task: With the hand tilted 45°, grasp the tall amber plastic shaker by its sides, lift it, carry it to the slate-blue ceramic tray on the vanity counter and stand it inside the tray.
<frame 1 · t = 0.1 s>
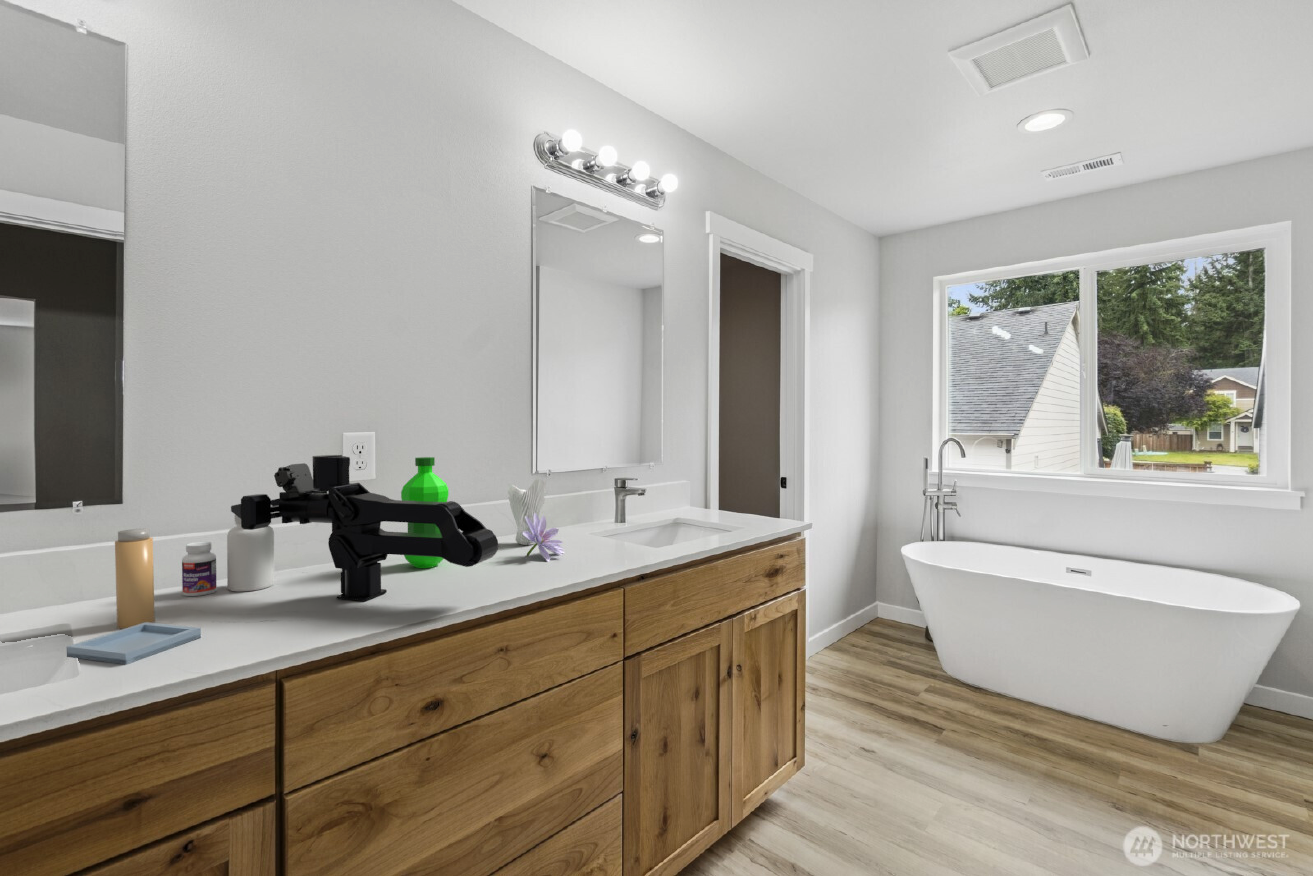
hand: (252, 505, 126), 17 cm above the worktop, tool horizontal, fingers open, 9 cm apart
pill bottle 2: (251, 588, 126), on the worktop
water lily: (544, 558, 154), on the worktop
shell sculpture: (527, 545, 169), on the worktop
pill bottle: (199, 594, 122), on the worktop
tray: (136, 646, 94), on the worktop
plastic bottle: (426, 566, 145), on the worktop
shaker: (136, 623, 104), on the worktop
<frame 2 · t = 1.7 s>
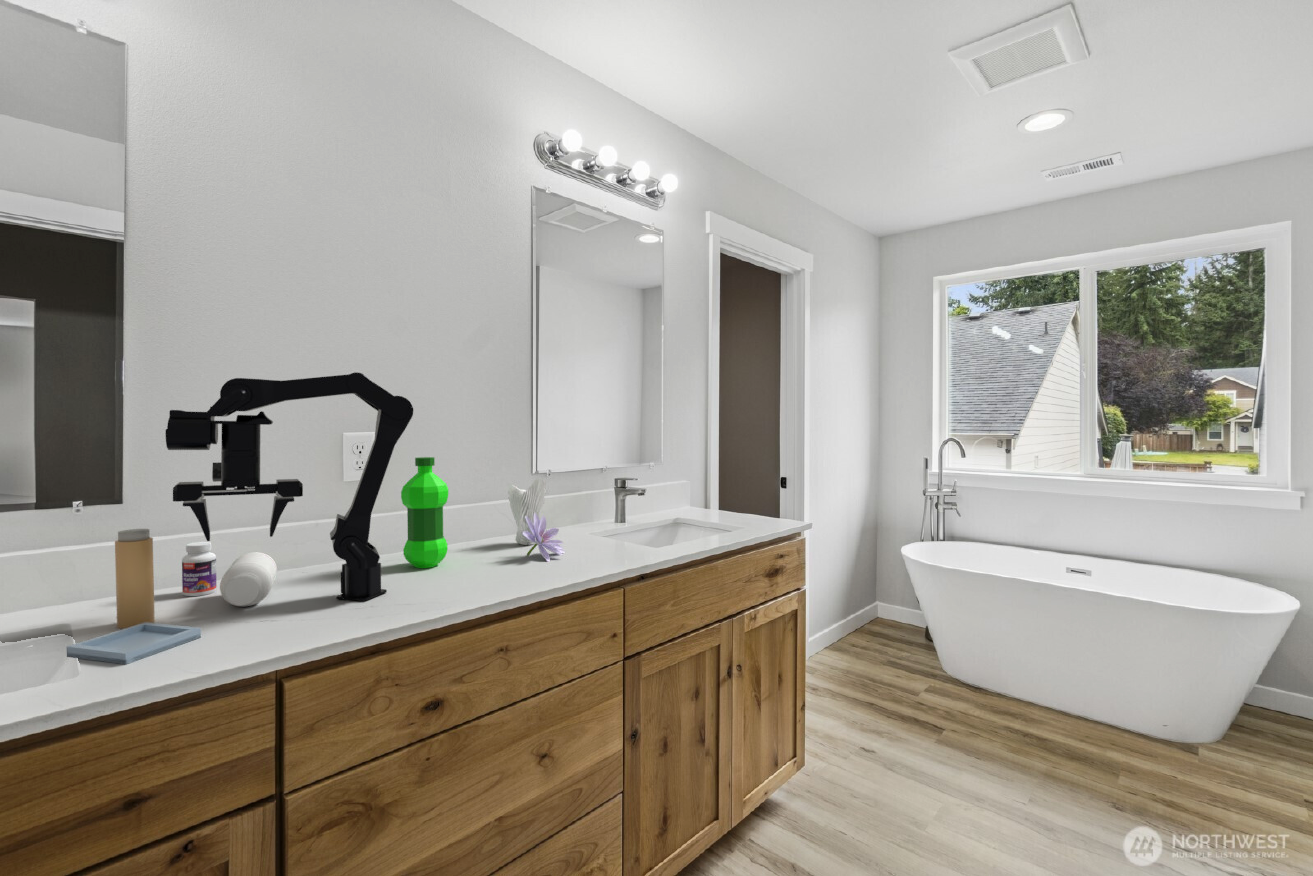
hand: (240, 538, 111), 13 cm above the worktop, tool pointing down, fingers open, 9 cm apart
pill bottle 2: (254, 571, 123), point 4 cm above the worktop
everything else where it was.
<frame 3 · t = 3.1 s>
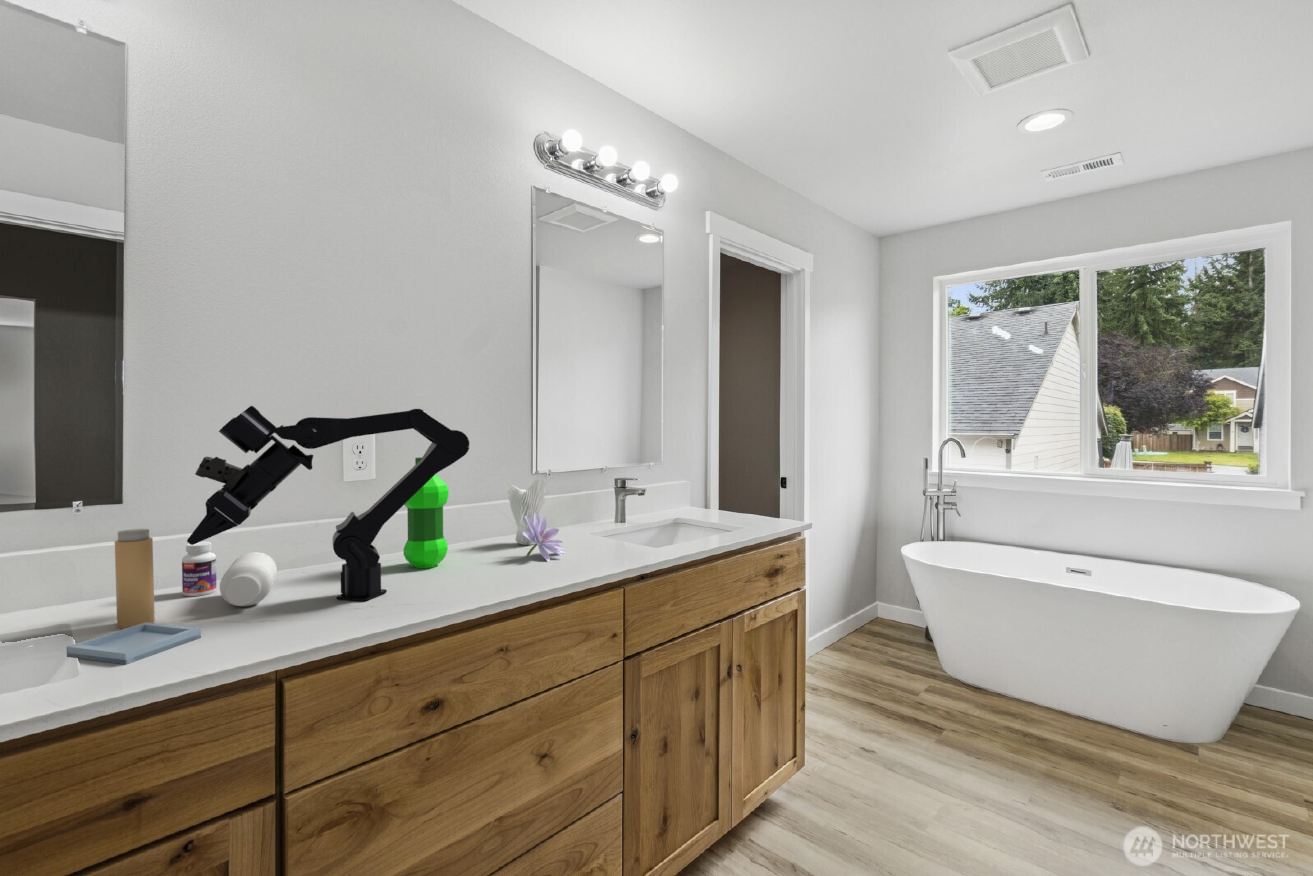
hand: (193, 538, 107), 13 cm above the worktop, tool tilted 45°, fingers open, 9 cm apart
nothing on the worktop moved.
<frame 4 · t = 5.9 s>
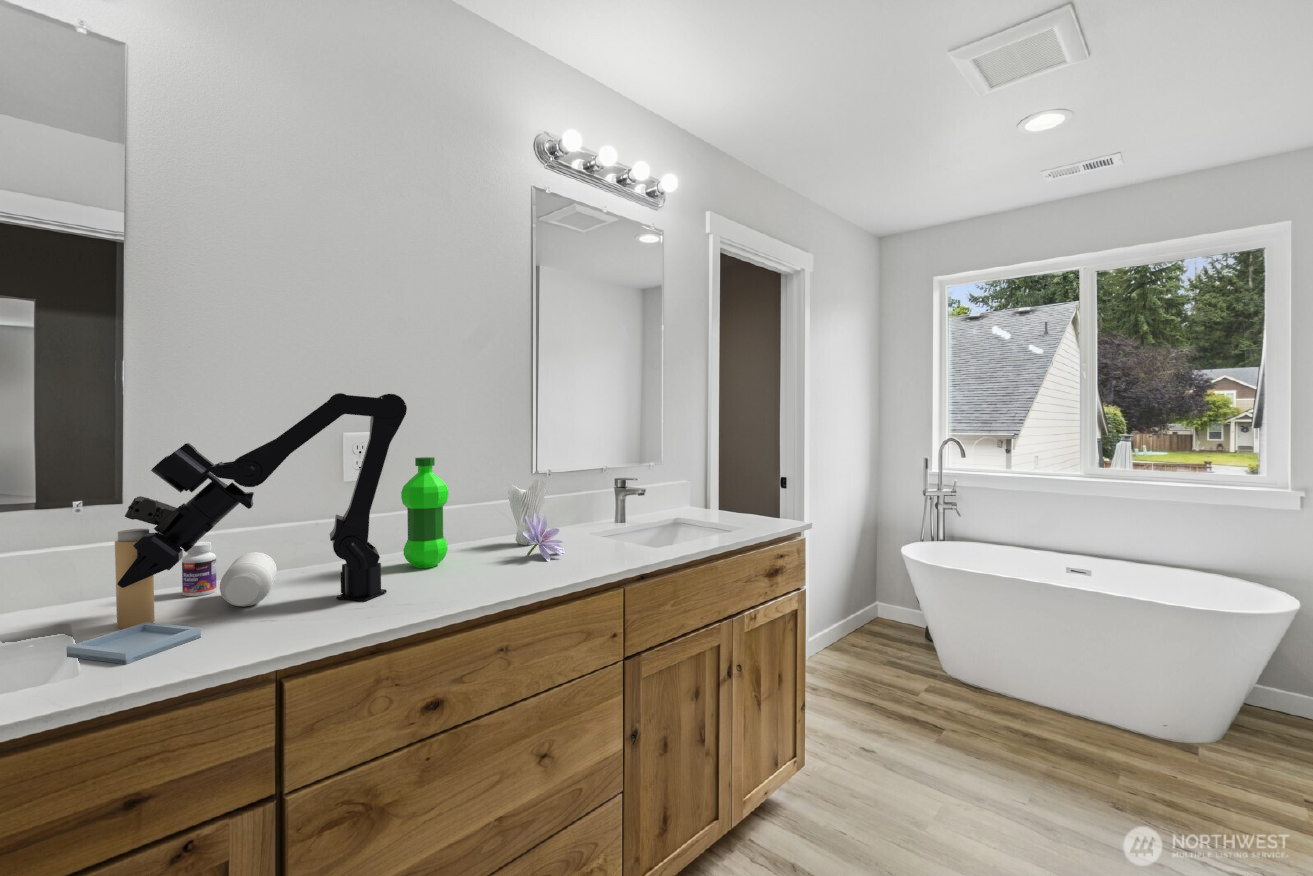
hand: (124, 582, 103), 7 cm above the worktop, tool tilted 45°, fingers closed on shaker, 5 cm apart
shaker: (136, 623, 104), on the worktop, touching gripper
everything else where it was.
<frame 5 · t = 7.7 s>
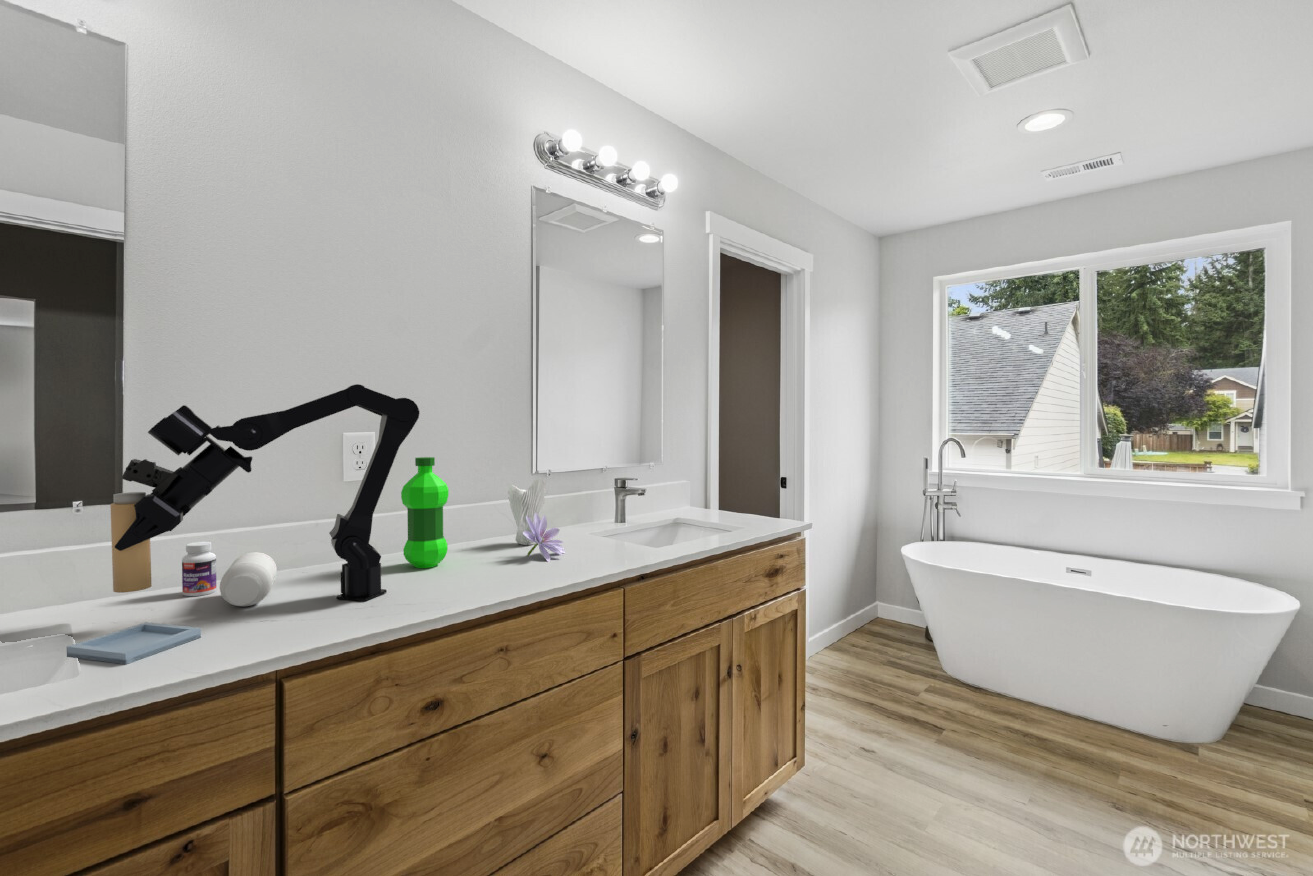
hand: (120, 546, 101), 13 cm above the worktop, tool tilted 45°, fingers closed on shaker, 5 cm apart
shaker: (132, 588, 102), point 6 cm above the worktop, touching gripper
everything else where it was.
when the fingers open (9 cm above the worktop, at t = 9.9 s): shaker drops 1 cm, resting on tray.
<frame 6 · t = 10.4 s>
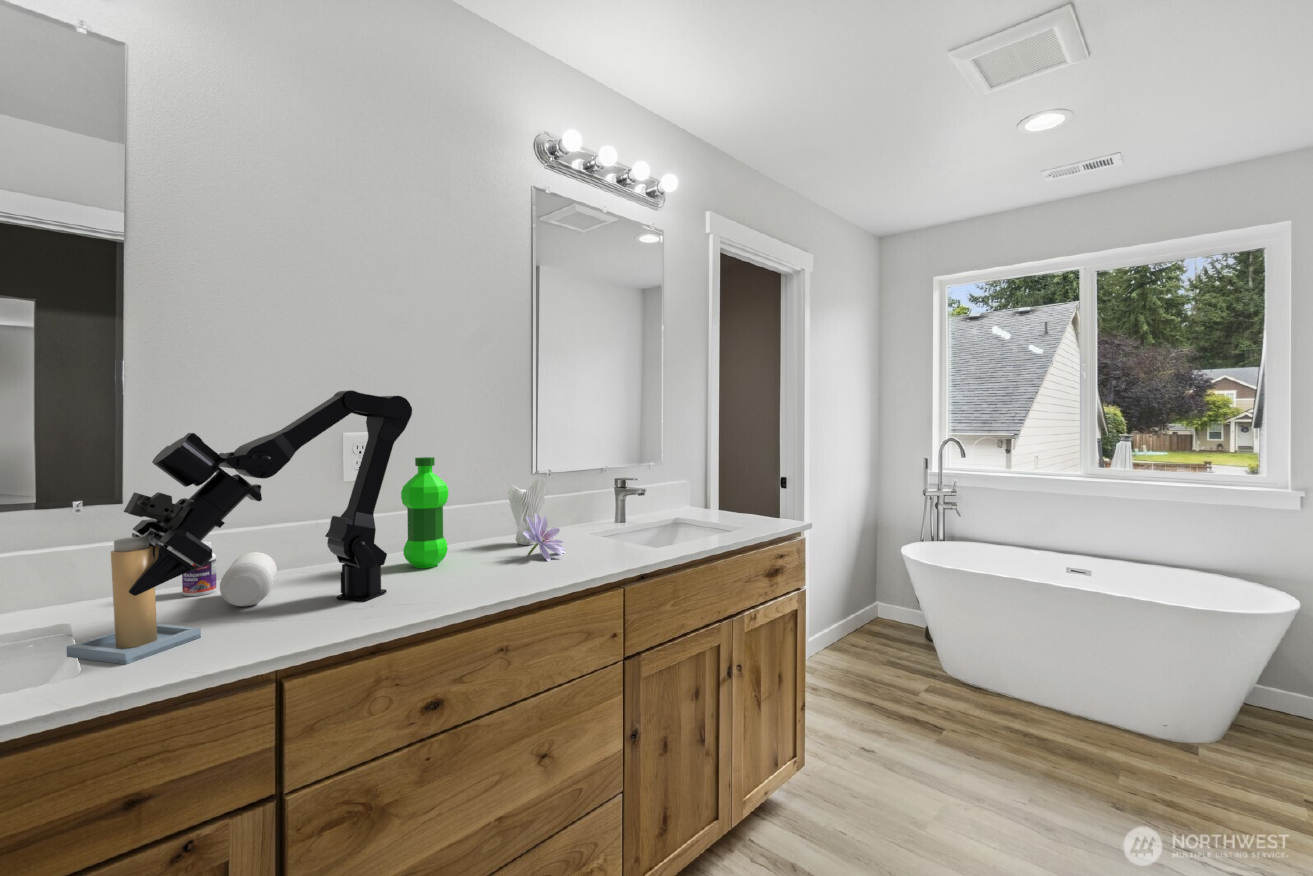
hand: (123, 588, 92), 9 cm above the worktop, tool tilted 45°, fingers open, 9 cm apart
shaker: (136, 642, 94), point 1 cm above the worktop, touching tray
everything else where it was.
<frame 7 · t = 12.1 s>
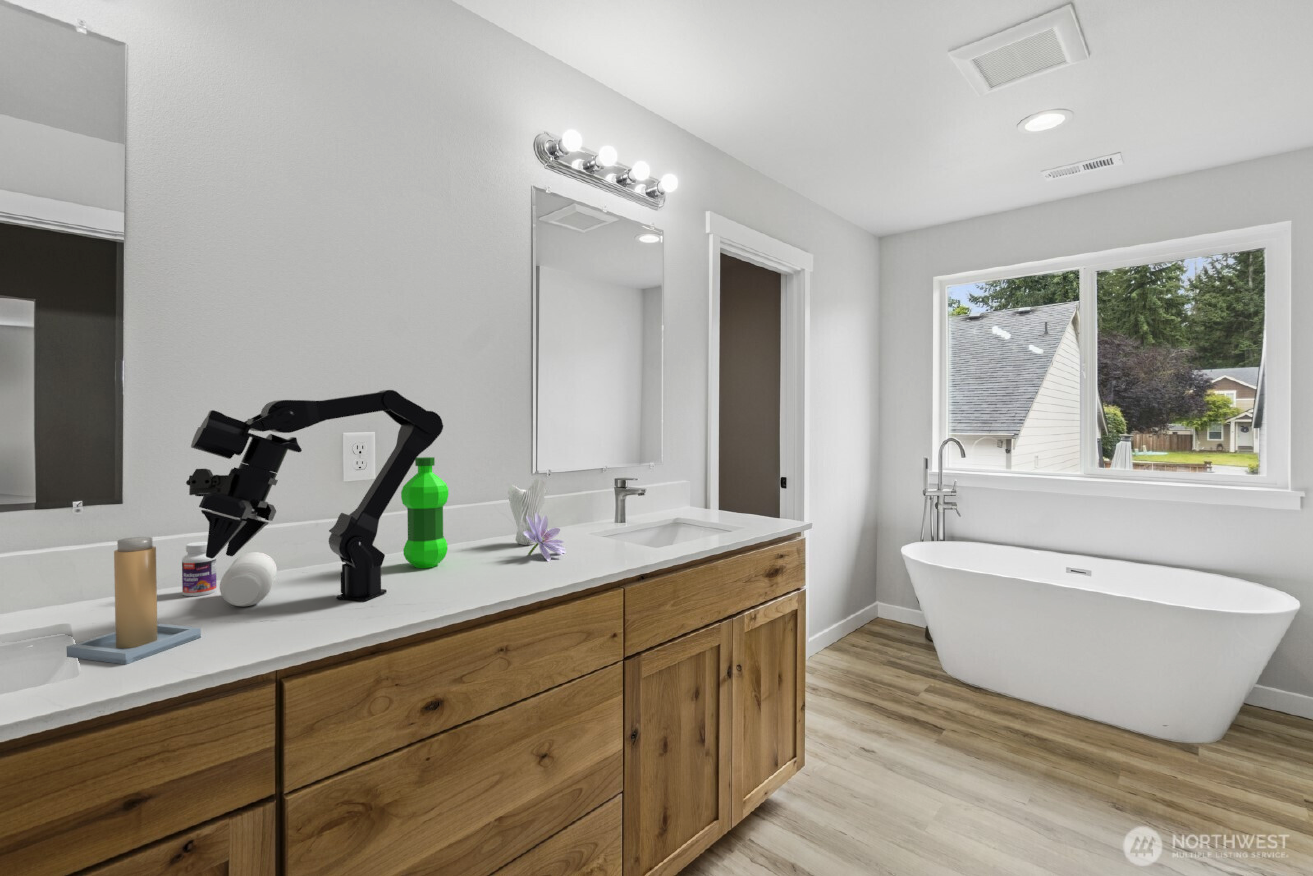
hand: (219, 556, 104), 11 cm above the worktop, tool tilted 20°, fingers open, 9 cm apart
nothing on the worktop moved.
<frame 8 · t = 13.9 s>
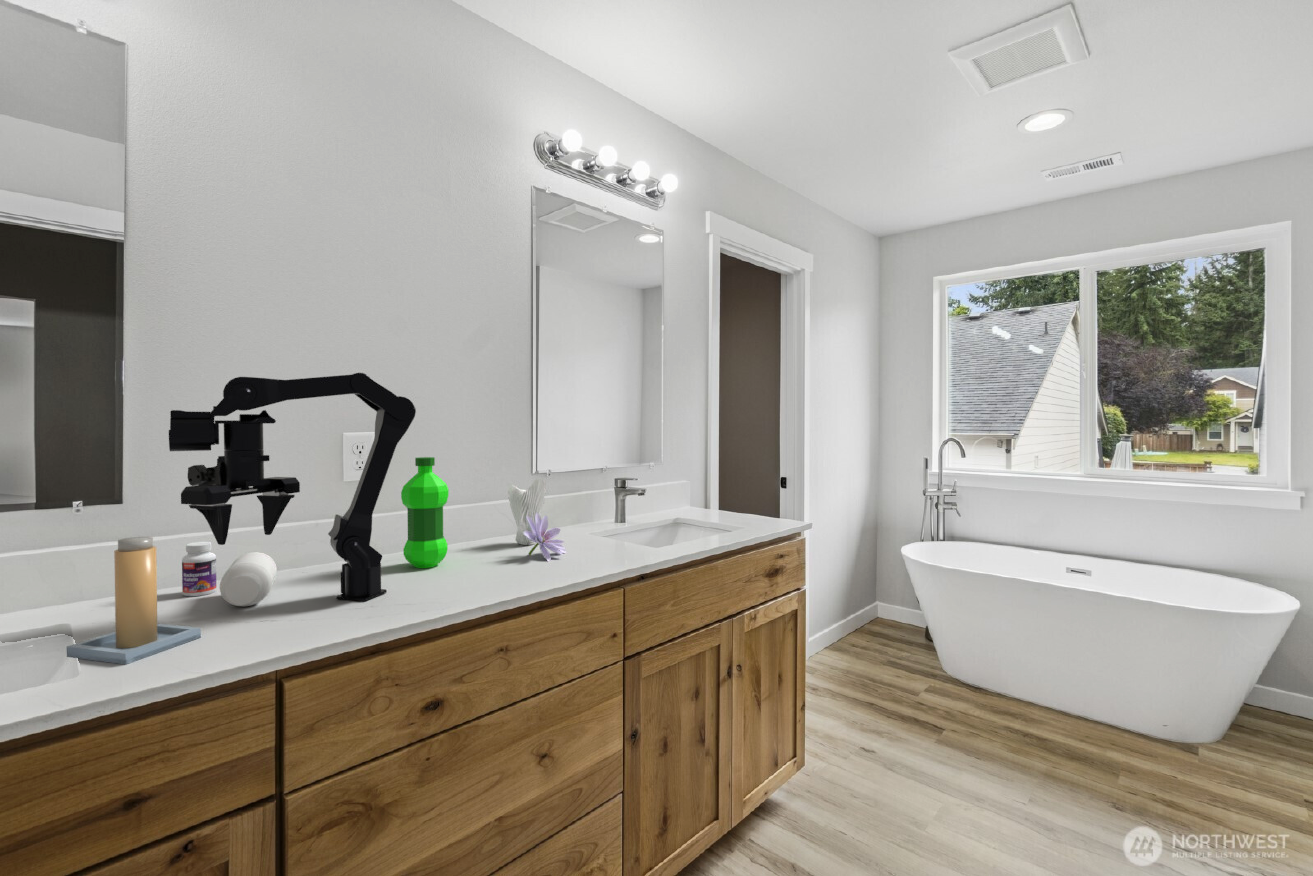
hand: (245, 539, 109), 13 cm above the worktop, tool pointing down, fingers open, 9 cm apart
nothing on the worktop moved.
at the end: shaker inside the target area on the tray (0.0 cm from its centre), point 0.6 cm above the tray's base; shaker tilted 1°; the gripper is holding nothing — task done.
